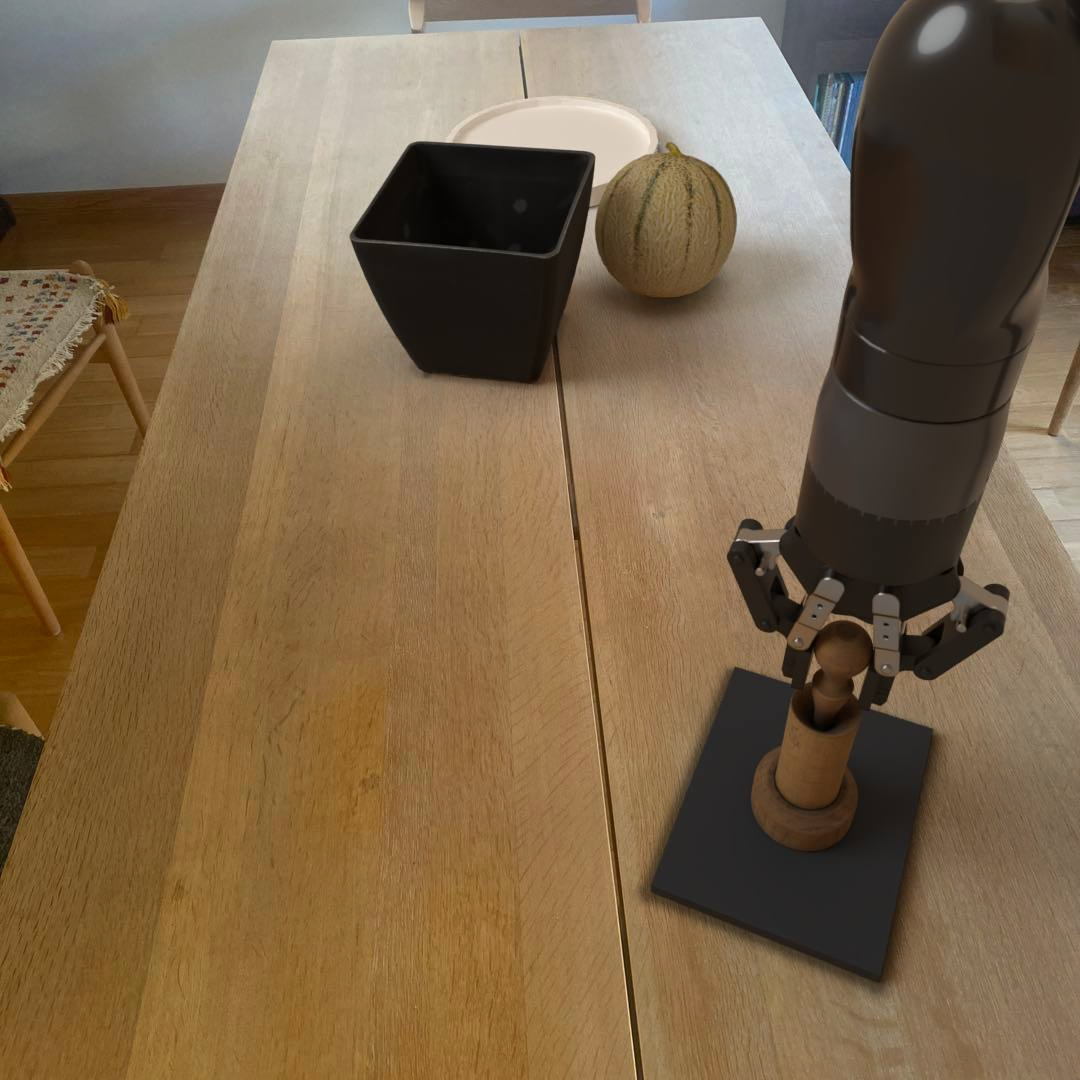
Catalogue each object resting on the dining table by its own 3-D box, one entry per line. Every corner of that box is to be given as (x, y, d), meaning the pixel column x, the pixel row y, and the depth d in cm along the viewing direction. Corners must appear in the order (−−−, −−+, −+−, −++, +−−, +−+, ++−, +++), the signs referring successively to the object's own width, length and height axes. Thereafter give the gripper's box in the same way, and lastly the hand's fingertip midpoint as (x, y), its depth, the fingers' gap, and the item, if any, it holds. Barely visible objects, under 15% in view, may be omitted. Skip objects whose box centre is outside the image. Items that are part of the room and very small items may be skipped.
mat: (930, 736, 69) (933, 728, 68) (877, 982, 58) (881, 976, 57) (733, 674, 73) (734, 665, 73) (650, 891, 62) (650, 884, 62)
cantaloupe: (609, 334, 104) (609, 199, 93) (584, 261, 114) (581, 131, 103) (748, 316, 105) (764, 180, 94) (710, 245, 115) (721, 115, 104)
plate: (407, 193, 127) (405, 174, 125) (498, 103, 144) (496, 85, 143) (615, 227, 119) (615, 207, 117) (684, 127, 136) (685, 109, 134)
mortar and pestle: (734, 772, 67) (764, 598, 54) (825, 749, 68) (875, 573, 55) (774, 863, 62) (817, 697, 49) (870, 837, 63) (937, 667, 50)
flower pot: (563, 410, 95) (556, 252, 83) (376, 391, 99) (344, 237, 87) (598, 300, 108) (597, 149, 96) (432, 287, 112) (410, 140, 99)
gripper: (714, 469, 43) (690, 700, 55) (1066, 557, 38) (954, 786, 51) (761, 370, 48) (729, 603, 60) (1080, 438, 43) (974, 675, 56)
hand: (833, 686), depth 55 cm, fingers closed on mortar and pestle, 3 cm apart
